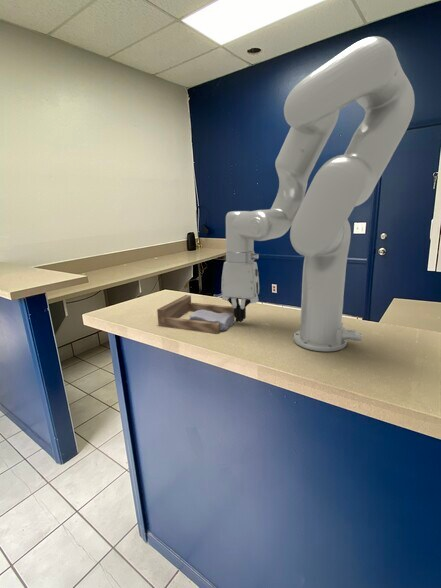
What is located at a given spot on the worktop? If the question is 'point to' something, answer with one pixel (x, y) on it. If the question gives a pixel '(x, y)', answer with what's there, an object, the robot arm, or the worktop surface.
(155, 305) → the worktop surface
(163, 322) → the brown u-shaped frame
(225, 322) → the stone block
